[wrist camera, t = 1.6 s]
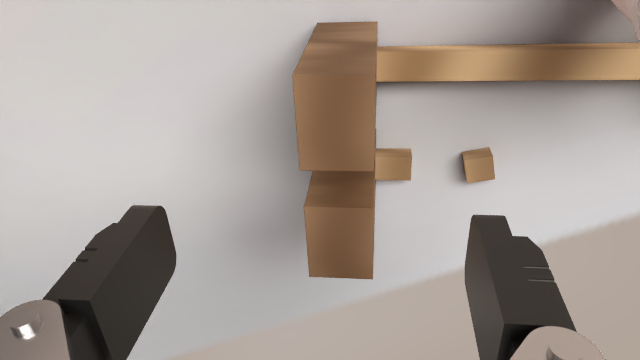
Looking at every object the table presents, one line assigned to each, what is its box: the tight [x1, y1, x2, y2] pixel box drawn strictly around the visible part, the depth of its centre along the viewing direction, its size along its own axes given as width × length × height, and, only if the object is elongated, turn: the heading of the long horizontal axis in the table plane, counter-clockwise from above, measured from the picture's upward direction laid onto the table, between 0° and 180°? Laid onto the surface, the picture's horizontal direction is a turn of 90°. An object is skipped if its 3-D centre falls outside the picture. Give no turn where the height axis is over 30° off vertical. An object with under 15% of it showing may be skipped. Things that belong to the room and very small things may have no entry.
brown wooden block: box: [304, 129, 495, 279], centre depth 25 cm, size 10×4×8 cm, turn 93°
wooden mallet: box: [292, 22, 640, 171], centre depth 20 cm, size 20×10×8 cm, turn 93°
